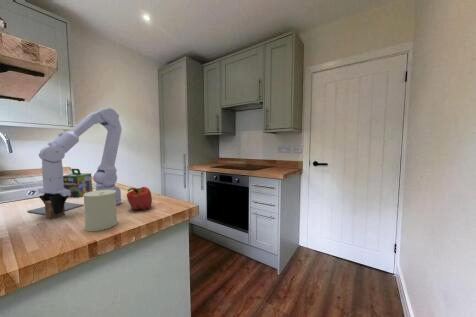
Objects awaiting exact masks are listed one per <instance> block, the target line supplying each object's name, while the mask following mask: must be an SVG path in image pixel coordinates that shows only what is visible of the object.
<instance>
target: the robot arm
mask: <svg viewBox="0 0 476 317" xmlns="http://www.w3.org/2000/svg"><path fill="white" fill-rule="evenodd" d="M119 117H120V114H119V113H118V112H117V111H116V110H115V109H114V108H112V107H110V106H106V107H103V108H97V109H95V110H93V111H92V112H90V113H89V114H88V115H87V116H86V117H84V118H83V119H82V120H81V121H80V122H79V123H78V124H77V125H76V126H75V127H73V129H71V130H70V131H63V132H59V133H58V135H57V137H56V138H55V139H53V140H52V142H47V145H48V146H45V147H42V148H41V149H40V151H39V153H38V157H39V159H41V172H42V173H41V175H42V187H39V188H38V189H37V190H38V194H42V195H39V199H40V200H41V201H42V202H43V204H44V205H45V201H48V200H50V201H51V203H52V205H53V210H54V213H55V214H59V213H62V211H63V207H64V204H65V202H66V201H67V199H68V198H69V197H68V196H69V195H70V190H67V189H65V188H64V182H63V176H64V172H63V171H64V169H63V168H64V167H63V159H65V156H66V155H65V154H67V153H68V152H70V150H71V149H72V148H74V147H75V145H77V144H78V143H79V141H80V139H79V138H80V136H81V135H83V134H84V133H85V132H86V131H89V129H90V128H91V127H92V126H94V125H97V124H99V125H101V126H102V127H104V128H105V130H107V134H106V138H105V142H104V143H105V144H104V146H103V152H102V156H101V162H100V164H99V166H97V168H96V172H95V173H94V174H93V178H92V179H93V181H94V182H95V183H96V184H95V191H97V190H115V191H116V206H117V205H120V204H121V205H122V204H123V203H124V202H123V201H122V195H121V193H122V191H121V188H120V187H119V186H117V185H116V183H117V181H118V175H117V168H116V166H115V165H116V159H117V154H118V151H119V150H118V149H119V145H120V140H121V135H122V134H121V133H122V126H121V122H120V118H119Z"/></svg>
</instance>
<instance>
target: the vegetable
mask: <svg viewBox="0 0 476 317" xmlns="http://www.w3.org/2000/svg"><path fill="white" fill-rule="evenodd" d="M126 198H127V201H128V204H129V205H130V208H132V210H135V211H138V210H146V209H148V208H150V207H151V205H152V202H153V197H152V192H151V189H150V188H148V187H146V186H142V187H140V188H136V187H130V188H128V189H127V193H126Z"/></svg>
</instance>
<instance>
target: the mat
mask: <svg viewBox="0 0 476 317" xmlns="http://www.w3.org/2000/svg"><path fill="white" fill-rule="evenodd" d="M64 207H65V212H68V211H71V210H75V209H78V208H81V207H84V204H82V203H75V202H66V201H65V204H64ZM26 212H27V213H30V214H35V215H41V216H46V212H45V206H42V207H38V208H33V209H29V210H27V211H26Z"/></svg>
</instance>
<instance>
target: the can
mask: <svg viewBox="0 0 476 317" xmlns="http://www.w3.org/2000/svg"><path fill="white" fill-rule="evenodd" d="M82 197H83V203H84V204H83V205H84V206H83V209H84V222H85V224H84V226H85V227H84V231H88V232H100V231H104V229H105V230H108V229H111V228H113V227H115V226H116V225H117V224H118V216H117V214H118V213H117V205H116V191H115V190H97V191H96V190H93V191H92V192H88V193H85V194H84V195H83V196H82ZM114 225H115V226H114ZM112 226H113V227H112ZM110 227H111V228H110ZM107 228H108V229H107ZM99 230H100V231H99Z"/></svg>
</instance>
